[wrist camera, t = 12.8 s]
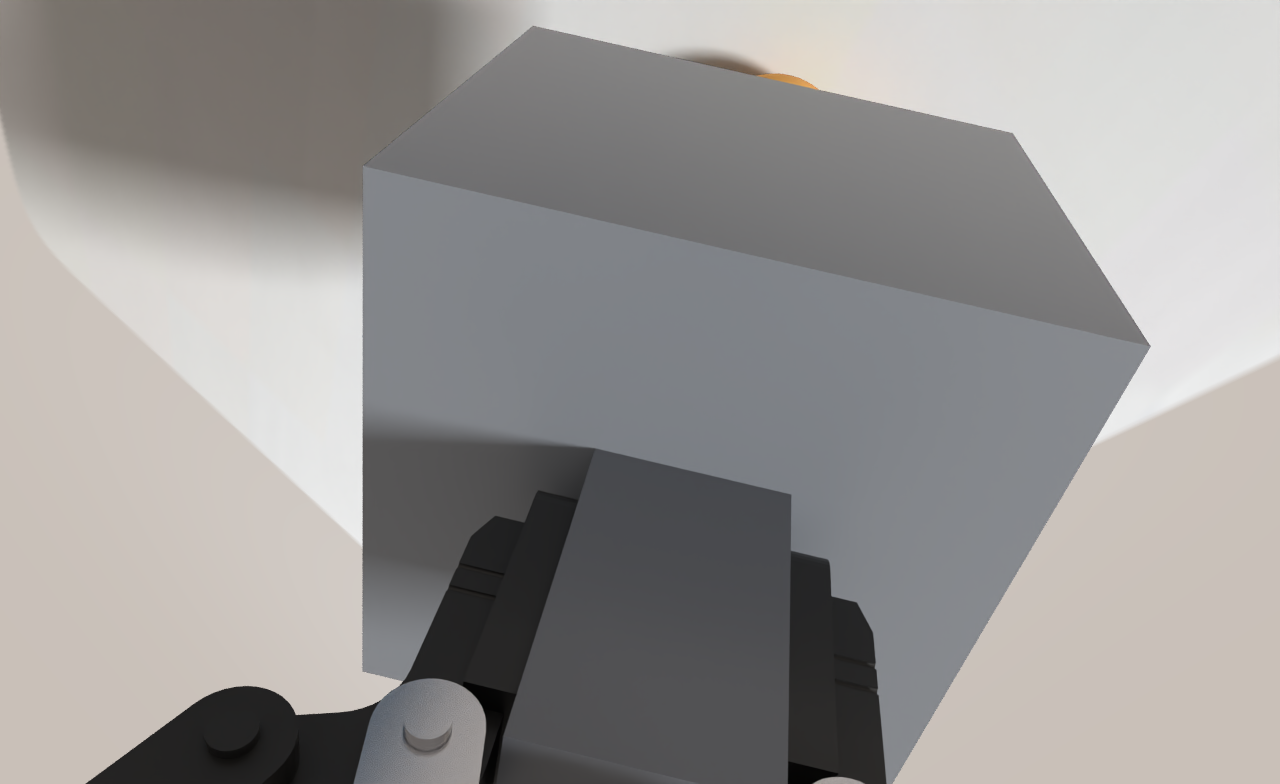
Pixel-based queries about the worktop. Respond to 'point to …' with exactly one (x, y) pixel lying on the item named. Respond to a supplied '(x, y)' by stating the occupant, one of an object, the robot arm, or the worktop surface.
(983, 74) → the worktop surface
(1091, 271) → the gray block with peg
